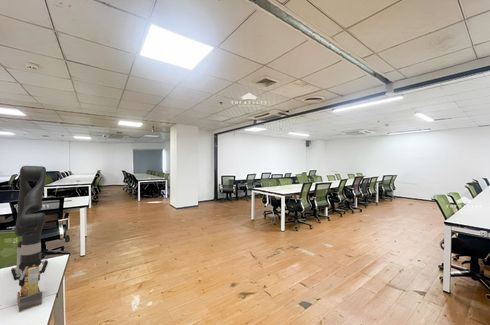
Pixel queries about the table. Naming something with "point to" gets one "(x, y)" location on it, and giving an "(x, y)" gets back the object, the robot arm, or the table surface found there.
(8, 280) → the table surface
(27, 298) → the cradle
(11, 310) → the table surface
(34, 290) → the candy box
